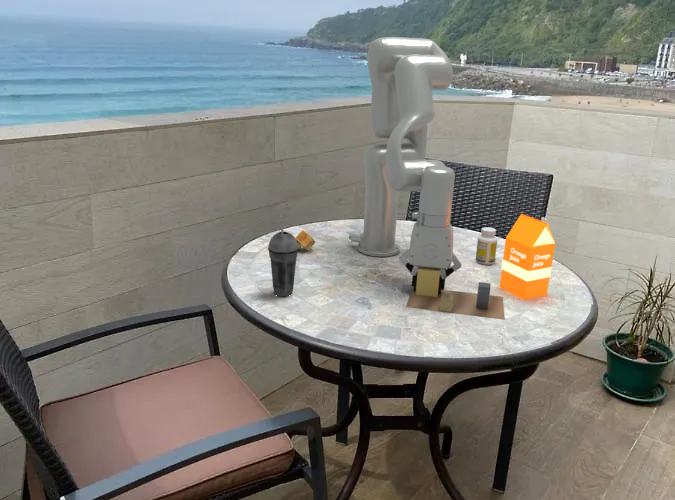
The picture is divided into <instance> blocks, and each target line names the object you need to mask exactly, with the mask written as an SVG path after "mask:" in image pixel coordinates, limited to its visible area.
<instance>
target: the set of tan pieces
mask: <svg viewBox="0 0 675 500" xmlns="http://www.w3.org/2000/svg"><path fill="white" fill-rule="evenodd" d="M378 274H379V273H378V272H372V275H370V278H376V275H377V276H378ZM362 277H363V278H368V277H369V275H368V274H363V275H362ZM381 277H382V278H387V277H388V275H386V274H382V275H381Z"/></svg>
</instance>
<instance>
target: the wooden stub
mask: <svg viewBox="0 0 675 500" xmlns="http://www.w3.org/2000/svg"><path fill="white" fill-rule="evenodd" d="M452 303H453V296H451V295H442V296H441V305H440V311H444V312H443V313H448V312H452ZM440 311H439V312H440Z"/></svg>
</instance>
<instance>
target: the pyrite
mask: <svg viewBox="0 0 675 500" xmlns="http://www.w3.org/2000/svg"><path fill="white" fill-rule="evenodd" d="M294 237H295V238H296V240H297V244H298V248H300V249H301V247H303V248H304V249H305V250H306V249H309V248H310V249H311V248H312V247H313V246H314V245H315V243H316V241H315V239H314V238H313V237H312V236H311V235H310V234H309V233H308V232H307V231H305V230H304V229H302V230H301V231H300V232H299V233H298V234H296V236H294ZM310 249H309V250H310Z"/></svg>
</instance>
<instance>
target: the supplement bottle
mask: <svg viewBox="0 0 675 500" xmlns="http://www.w3.org/2000/svg"><path fill="white" fill-rule="evenodd" d="M496 234H497V229H496V228H493V227H487V226H485V227H482V228H481V232H480V235H478V237H477V244H476V253H475V254H476V255H475V261H476V263H478V264H481V265H493V264H494V263H495V262H496V254H497V245H498V238H497V237H496Z"/></svg>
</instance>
